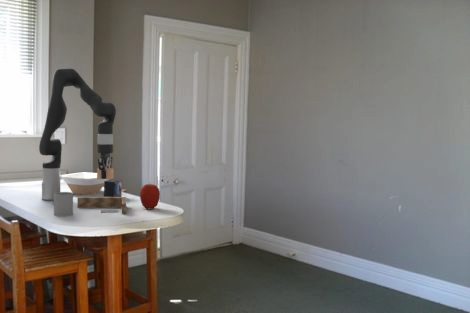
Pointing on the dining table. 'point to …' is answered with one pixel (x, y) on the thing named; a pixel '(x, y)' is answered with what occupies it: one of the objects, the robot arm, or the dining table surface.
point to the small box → (112, 188)
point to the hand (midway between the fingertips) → (105, 178)
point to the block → (108, 173)
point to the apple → (149, 196)
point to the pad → (109, 210)
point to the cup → (63, 203)
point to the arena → (102, 202)
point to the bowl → (83, 183)
